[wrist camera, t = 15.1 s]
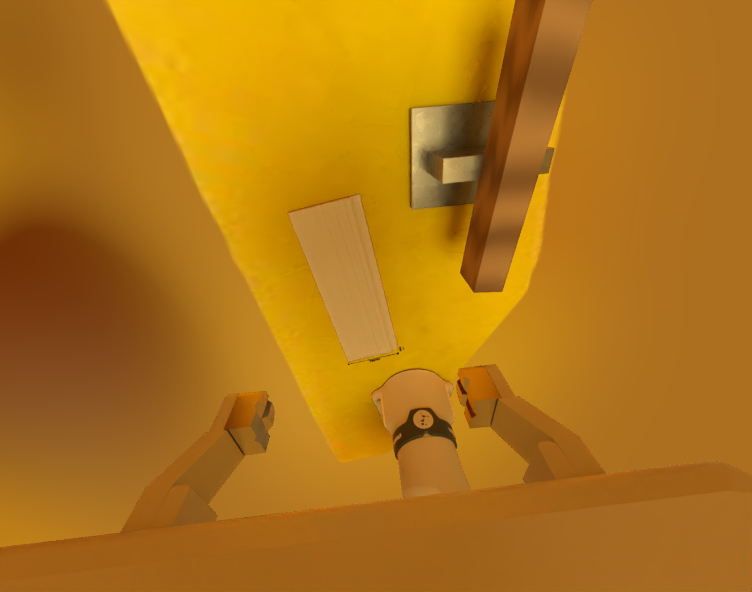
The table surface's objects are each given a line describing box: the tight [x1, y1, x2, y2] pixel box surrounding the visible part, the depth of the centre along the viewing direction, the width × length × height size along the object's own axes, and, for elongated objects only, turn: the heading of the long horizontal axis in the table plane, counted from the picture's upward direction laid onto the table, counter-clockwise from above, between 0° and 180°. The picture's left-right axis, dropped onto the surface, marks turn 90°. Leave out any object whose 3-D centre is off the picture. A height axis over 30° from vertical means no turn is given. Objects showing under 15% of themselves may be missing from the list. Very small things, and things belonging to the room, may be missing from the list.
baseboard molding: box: [288, 194, 404, 365], centre depth 47 cm, size 31×3×12 cm
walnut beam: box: [460, 0, 593, 293], centre depth 28 cm, size 26×4×5 cm, turn 179°
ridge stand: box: [410, 101, 554, 210], centre depth 34 cm, size 12×16×9 cm
